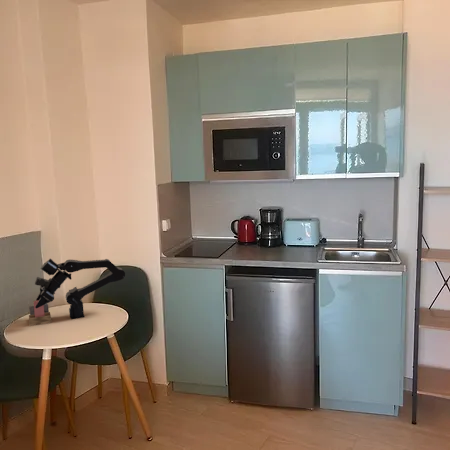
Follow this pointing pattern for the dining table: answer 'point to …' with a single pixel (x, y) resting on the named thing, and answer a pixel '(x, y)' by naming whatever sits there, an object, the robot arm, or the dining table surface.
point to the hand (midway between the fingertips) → (35, 305)
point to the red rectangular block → (38, 310)
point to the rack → (39, 320)
